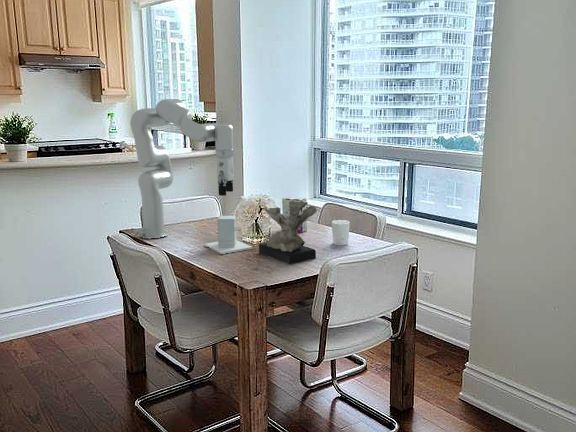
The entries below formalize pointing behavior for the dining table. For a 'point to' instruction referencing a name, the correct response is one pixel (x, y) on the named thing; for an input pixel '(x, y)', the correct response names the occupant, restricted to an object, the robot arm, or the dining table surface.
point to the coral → (289, 235)
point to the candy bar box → (286, 211)
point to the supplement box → (227, 231)
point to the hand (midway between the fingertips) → (226, 193)
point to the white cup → (340, 232)
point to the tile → (224, 250)
